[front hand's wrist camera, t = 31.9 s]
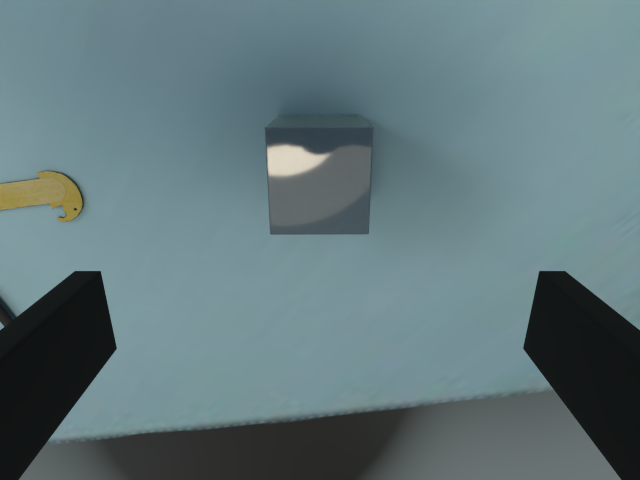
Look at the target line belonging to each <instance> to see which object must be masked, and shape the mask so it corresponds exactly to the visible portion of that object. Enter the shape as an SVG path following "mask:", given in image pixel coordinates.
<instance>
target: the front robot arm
mask: <svg viewBox="0 0 640 480" xmlns="http://www.w3.org/2000/svg"><path fill="white" fill-rule="evenodd" d="M0 322H1V323H2V324H3V325H4V328H3V329H1V330H0V480H19V478H20V477H21V476H22V474H23V473H24V472H25V470H26V469H27V468H28V466H29V465H30V464H31V462H32V461H33V460H34V458H35V457H36V456H37V454H38V453H39V452H40V450H41V449H42V448H43V446H44V445H45V444H46V442H47V441H48V440H49V438H50V437H51V436H52V434H53V433H54V432H55V430H56V429H57V428H58V426H59V425H60V424H61V422H62V421H63V420H64V418H65V417H66V416H67V414H68V413H69V412H70V410H71V409H72V408H73V406H74V405H75V404H76V402H77V401H78V400H79V398H80V397H81V396H82V394H83V393H84V392H85V390H86V389H87V388H88V386H89V385H90V384H91V382H92V381H93V380H94V378H95V377H96V376H97V374H98V373H99V372H100V370H101V369H102V368H103V366H104V365H105V364H106V362H107V361H108V360H109V358H110V357H111V356H112V354H113V353H114V351H115V350H116V349H117V348H116V343H115V338H114V333H113V328H112V324H111V319H110V314H109V309H108V304H107V300H106V295H105V290H104V285H103V280H102V276H101V271H75V272H73V273H72V274H71V275H70V276H68V277H67V278H66V279H65V280H63V281H62V282H61V283H59V284H58V285H57V286H56V287H54V288H53V289H52V290H51V291H49V292H48V293H47V294H46V295H44V296H43V297H42V298H41V299H39V300H38V301H37V302H35V303H34V304H33V305H32V306H30V307H29V308H28V309H27V310H25V311H24V312H23V313H22V314H20V315H19V316H18V317H17V318H15V319H14V320H13V319H12V318H11V316H10V315H9V314H8V313H7V311H6V310H5V309H4V308H3V306H2V305H1V304H0ZM523 349H524V350H525V351H526V353H527V354H528V356H529V357H530V358H531V360H532V361H533V362H534V364H535V365H536V366H537V368H538V369H539V370H540V372H541V373H542V374H543V376H544V377H545V378H546V380H547V381H548V382H549V384H550V385H551V386H552V388H553V389H554V390H555V392H556V393H557V394H558V396H559V397H560V398H561V400H562V401H563V402H564V404H565V405H566V406H567V408H568V409H569V410H570V412H571V413H572V414H573V416H574V417H575V418H576V420H577V421H578V422H579V424H580V425H581V426H582V428H583V429H584V430H585V432H586V433H587V434H588V436H589V437H590V438H591V440H592V441H593V442H594V444H595V445H596V446H597V448H598V449H599V450H600V452H601V453H602V454H603V456H604V457H605V458H606V460H607V461H608V462H609V464H610V465H611V466H612V468H613V469H614V470H615V472H616V473H617V474H618V476H619V477H620V478H621V480H640V330H639V329H637V328H636V327H635V326H634V325H632V324H631V323H630V322H629V321H627V320H626V319H625V318H623V317H622V316H621V315H620V314H618V313H617V312H616V311H615V310H613V309H612V308H611V307H610V306H608V305H607V304H606V303H605V302H603V301H602V300H601V299H599V298H598V297H597V296H596V295H594V294H593V293H592V292H591V291H589V290H588V289H587V288H586V287H584V286H583V285H582V284H581V283H579V282H578V281H577V280H575V279H574V278H573V277H572V276H570V275H569V274H568V273H567V272H565V271H539V276H538V280H537V285H536V290H535V295H534V300H533V304H532V309H531V314H530V319H529V324H528V328H527V333H526V338H525V343H524V348H523Z"/></svg>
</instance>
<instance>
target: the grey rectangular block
mask: <svg viewBox="0 0 640 480" xmlns="http://www.w3.org/2000/svg"><path fill="white" fill-rule="evenodd" d="M265 135H266V156H267V177H268V198H269V219H270V234H369V215H370V191H371V167H372V144H373V127H372V126H371V125H370V124H369V123H368V122H367V121H366V120H365V119H364V118H363V117H362V116H361V115H278V116H277V117H276V118H275V119H274V120H273V121H272V122H271V123H269V124H268V125H267V126H266V127H265Z"/></svg>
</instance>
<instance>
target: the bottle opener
mask: <svg viewBox="0 0 640 480" xmlns="http://www.w3.org/2000/svg"><path fill="white" fill-rule="evenodd" d="M37 174H38V177H39V179H34V180H27V181H19V182H12V183H5V184H0V210H3V209H11V208H18V207H25V206H33V205H40V204H48V203H49V204H50V206H51V208H52V209H53V208H54V207H56V206H63V209H64V211H65V213H66V217H65V218H61V217H58V218H57V219H58V220H59V221H62V222H67V221H70V220H72V219H74V218H75V217H76V216H77V215H78V214H79V213H80V211H81V209H82V206H83V203H82V197H81V194H80V191H79V190H78V188H77V186H76V185H75V184H74V183H73V182H72V181H71V180H70V179H69V178H68V177H66V176H65V175H63V174H60V173H57V172H52V171H44V172H38V173H37ZM74 208H76V209H77V210H74Z"/></svg>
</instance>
